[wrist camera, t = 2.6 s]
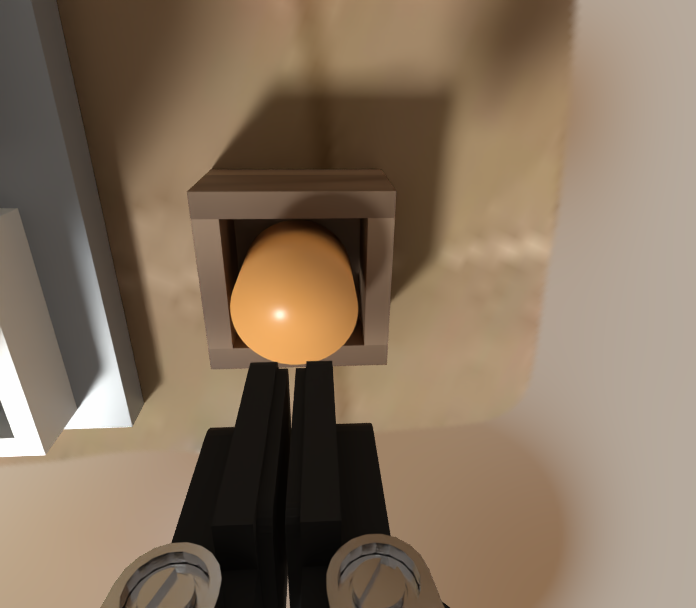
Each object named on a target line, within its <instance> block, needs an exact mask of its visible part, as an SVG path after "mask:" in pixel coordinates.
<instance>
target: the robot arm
mask: <svg viewBox="0 0 696 608" xmlns="http://www.w3.org/2000/svg"><path fill="white" fill-rule="evenodd" d="M287 581H288V583H289V599H290V608H450V607H448V606H447V605H446V604H445V603H443V602H442V600H441V598H440V595H439V593H438V590H437V588H436V586H435V583H434V580H433V578H432V575H431V573H430V570H429V568H428V567H427V565H426V563H425V561H424V559H423V558H422V556H421V555H420V554H419V553H418V552H417V551H416V550H415V549H414V548H413V547H412V546H411V545H410V544H408V543H406V542H404V541H402V540H400V539H398V538H397V537H392V536H391V535H390V530H389V523H388V517H387V511H386V505H385V499H384V494H383V486H382V481H381V474H380V468H379V462H378V456H377V450H376V445H375V437H374V431H373V426H372V424H371V423H354V424H336V417H335V400H334V382H333V364H332V361H306V368H296V374H295V388H294V401H293V415H292V428H291V413H290V393H289V374H288V369H279V367H278V362H251V363H250V366H249V370H248V374H247V378H246V382H245V386H244V391H243V395H242V399H241V403H240V407H239V411H238V416H237V420H236V424H235V427H222V428H210V429H209V430H208V431H207V433H206V436H205V439H204V442H203V445H202V448H201V451H200V455H199V458H198V461H197V464H196V467H195V471H194V474H193V477H192V480H191V483H190V486H189V489H188V492H187V495H186V499H185V502H184V505H183V508H182V511H181V515H180V518H179V521H178V524H177V527H176V530H175V534H174V536H173V540H172V543H170V544H167V545H163V546H160V547H157V548H154V549H152V550H151V551H149V552H147V553H145V554H143V555H142V556H140V557H138V558H137V559H136V560H135V561H134V562H133V563H132V564H130V565H129V566H128V567H127V568H126V569H125V570H124V571H123V572H122V574H121V575H120V577H119V578H118V579H117V580H116V582H115V583H114V585H113V586H112V588H111V590H110V592H109V593H108V595H107V597H106V599H105V600H104V602H103V604H102V606H101V608H286V597H287Z"/></svg>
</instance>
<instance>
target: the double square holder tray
mask: <svg viewBox="0 0 696 608" xmlns="http://www.w3.org/2000/svg"><path fill="white" fill-rule="evenodd" d="M143 405H144V402H143V397H142V392H141V388H140V383H139V379H138V374H137V369H136V365H135V360H134V356H133V351H132V346H131V342H130V337H129V333H128V328H127V323H126V319H125V314H124V310H123V305H122V300H121V296H120V291H119V287H118V282H117V277H116V273H115V268H114V264H113V259H112V255H111V250H110V245H109V241H108V236H107V232H106V227H105V222H104V218H103V213H102V209H101V204H100V199H99V195H98V190H97V186H96V181H95V176H94V172H93V167H92V163H91V158H90V153H89V149H88V144H87V140H86V135H85V130H84V126H83V121H82V117H81V112H80V108H79V103H78V98H77V94H76V89H75V85H74V80H73V75H72V71H71V66H70V62H69V57H68V52H67V48H66V43H65V39H64V34H63V29H62V25H61V20H60V16H59V11H58V6H57V2H56V0H0V457H8V456H35V455H46V454H47V452H48V451H49V449H50V448H51V446H52V445H53V444H54V442H55V441H56V439H57V438H58V437H59V435H60V434H61V432H62V431H63V429H83V428H113V427H132V426H133V424H134V422H135V420H136V419H137V417H138V415H139V413H140V411H141V409H142V407H143Z"/></svg>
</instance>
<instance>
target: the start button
mask: <svg viewBox="0 0 696 608" xmlns="http://www.w3.org/2000/svg"><path fill="white" fill-rule="evenodd" d="M230 312H231V318H232V322H233V325H234V327H235V329H236V331H237V333H238V335H239V336H240V338H241V339H242V341H243V342H244V343H245V344H246V345H247V346H248V347H249V348H250V349H252V350H253V351H254V352H256V353H257V354H259V355H260V356H262V357H264V358H266V359H269V360H271V361H274V362H278V363H282V364H289V365H300V364H306V361H319V360H322V359H324V358H326V357H328V356H330V355H332V354H333V353H335V352H336V351H337V350H338V349H340V348H341V347H342V346H343V345H344V344H345V343H346V341H347V340H348V339H349V337H350V335H351V334H352V332H353V330H354V327H355V325H356V321H357V317H358V301H357V296H356V290H355V285H354V280H353V275H352V270H351V264H350V259H349V256H348V253H347V251H346V249H345V247H344V245H343V244H342V242H341V241H340V239H339V238H338V237H337V236H336V235H335V234H334V233H332V232H331V231H330V230H328V229H327V228H325V227H324V226H321V225H319V224H317V223H314V222H311V221H305V220H288V221H283V222H279V223H276V224H274V225H272V226H270V227H268V228H267V229H265V230H264V231H262V232H261V233H260V234H259V235H258V236H257V237H256V238H255V239H254V241H253V242H252V244H251V245H250V247H249V249H248V252H247V254H246V257H245V259H244V262H243V265H242V267H241V270H240V273H239V275H238V278H237V281H236V284H235V286H234V289H233V292H232V296H231V303H230Z"/></svg>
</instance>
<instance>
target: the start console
mask: <svg viewBox="0 0 696 608" xmlns="http://www.w3.org/2000/svg"><path fill="white" fill-rule="evenodd" d="M187 196H188V204H189V211H190V218H191V226H192V233H193V240H194V248H195V255H196V262H197V270H198V277H199V284H200V292H201V299H202V306H203V314H204V321H205V328H206V336H207V343H208V350H209V358H210V365H211V369H242V368H249V366H250V363H251V362H274V361H271V360H269V359H266V358H264V357H262V356H260V355H259V354H257V353H256V352H254V351H253V350H252V349H250V348H249V347H248V346H247V345H246V344H245V343H244V342H243V341H242V339H241V338H240V336H239V335H238V333H237V331H236V329H235V327H234V325H233V322H232V318H231V312H230V303H231V296H232V292H233V289H234V286H235V284H236V281H237V278H238V275H239V273H240V270H241V267H242V265H243V262H244V259H245V257H246V254H247V252H248V249H249V247H250V245H251V244H252V242H253V241H254V239H255V238H256V237H257V236H258V235H259V234H260V233H261V232H262V231H264V230H265V229H267V228H268V227H270V226H272V225H274V224H276V223H279V222H283V221H288V220H305V221H311V222H314V223H317V224H319V225H321V226H324V227H325V228H327V229H328V230H330V231H331V232H332V233H334V234H335V235H336V236H337V237H338V238H339V239H340V241H341V242H342V244H343V245H344V247H345V249H346V251H347V253H348V256H349V259H350V264H351V270H352V275H353V280H354V285H355V290H356V296H357V301H358V317H357V321H356V325H355V327H354V330H353V332H352V334H351V335H350V337H349V339H348V340H347V341H346V343H345V344H344V345H343V346H342V347H341V348H340V349H338V350H337V351H336V352H335V353H333V354H332V355H330V356H328V357H326V358H324V359H322V360H319V361H332V364H333V366H356V365H387V352H388V334H389V316H390V297H391V279H392V261H393V243H394V225H395V207H396V190H395V189H394V187H393V186H392V184H391V183H390V181H389V180H388V178H387V177H386V176H385V174H384V173H383V171H382V170H381V169H211V170H210V171H209V172H208V173H207V174H205V175H204V176H203V177H202V178H201V179H200V180H199V181H198V182H197V183H196V184H195V185H194V186H193V187H192V188H190V189H189V190H188V191H187ZM278 367H279V368H280V367H306V364H300V365H289V364H282V363H278Z"/></svg>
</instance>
